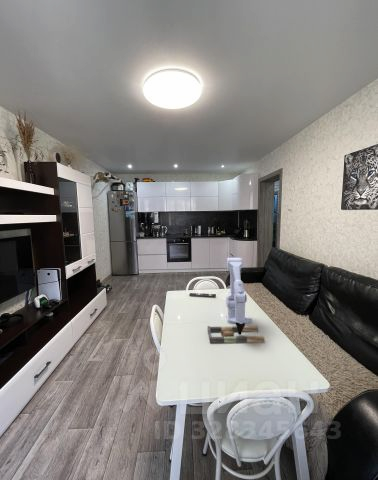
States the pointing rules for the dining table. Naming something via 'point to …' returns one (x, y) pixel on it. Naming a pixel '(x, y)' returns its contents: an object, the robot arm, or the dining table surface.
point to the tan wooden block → (227, 332)
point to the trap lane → (236, 338)
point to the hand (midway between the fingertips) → (239, 333)
